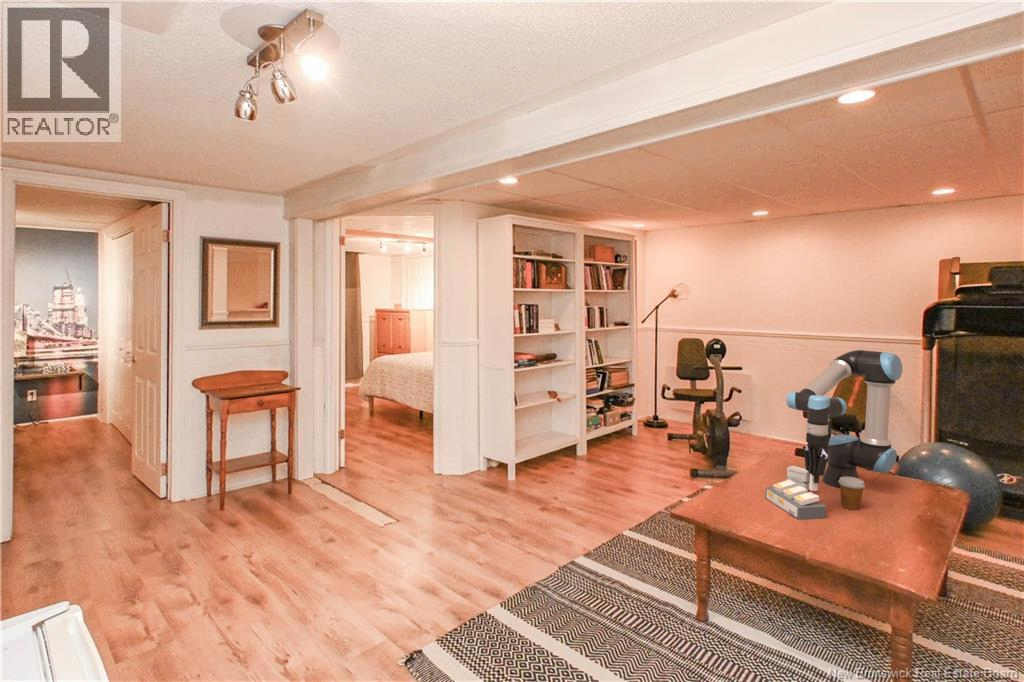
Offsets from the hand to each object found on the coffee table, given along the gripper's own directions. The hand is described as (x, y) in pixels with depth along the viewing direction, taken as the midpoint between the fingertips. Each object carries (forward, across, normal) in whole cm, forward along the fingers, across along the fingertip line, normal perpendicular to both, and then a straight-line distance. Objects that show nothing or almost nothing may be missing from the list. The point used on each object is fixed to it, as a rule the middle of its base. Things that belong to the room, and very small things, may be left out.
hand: (813, 489), depth 218 cm
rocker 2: (+4, -7, -3) cm, 8 cm away
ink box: (+11, -22, +9) cm, 26 cm away
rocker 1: (+4, -14, -3) cm, 15 cm away
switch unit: (+11, -7, -3) cm, 13 cm away
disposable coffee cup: (+11, -5, +21) cm, 24 cm away
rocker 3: (+4, 0, -3) cm, 5 cm away
